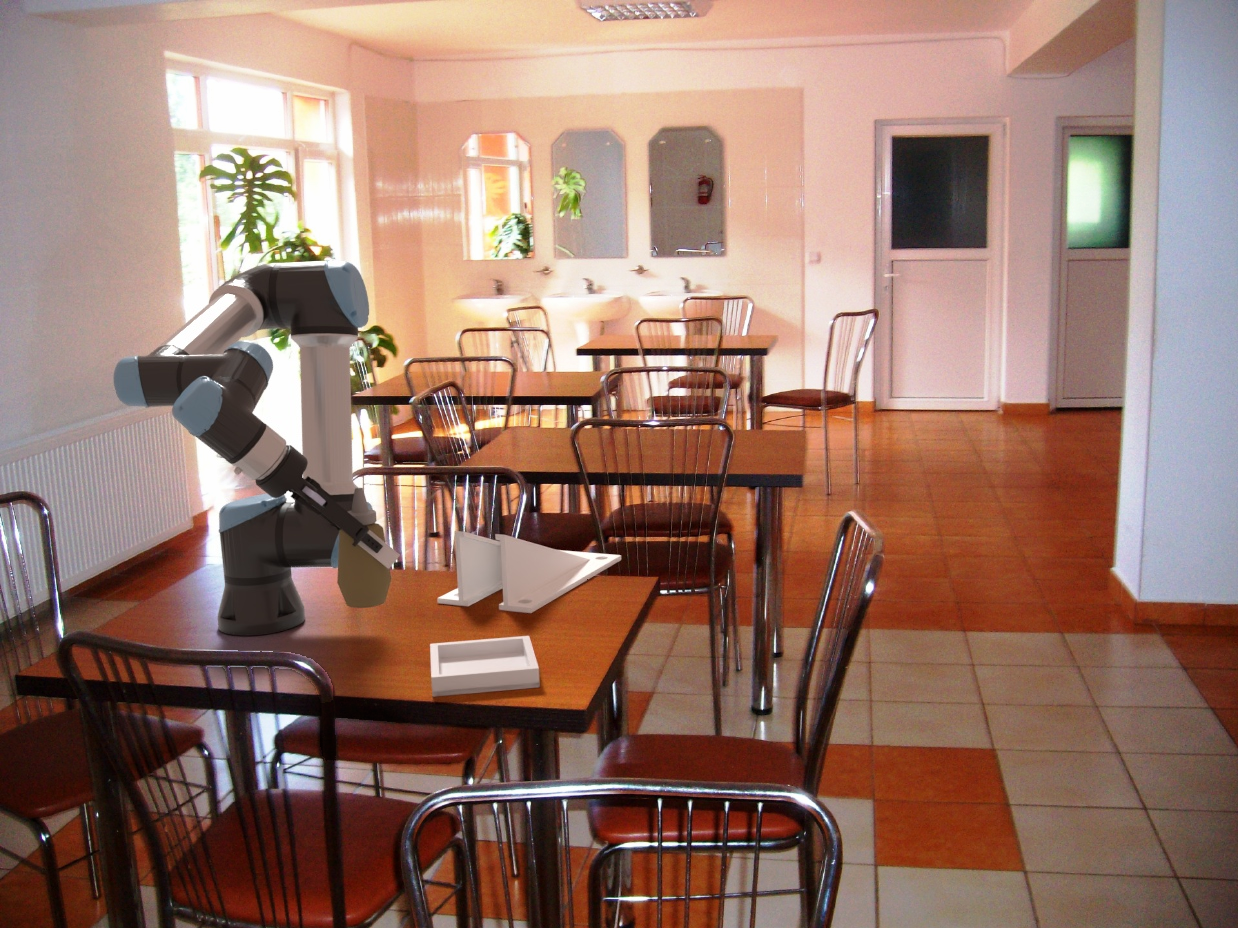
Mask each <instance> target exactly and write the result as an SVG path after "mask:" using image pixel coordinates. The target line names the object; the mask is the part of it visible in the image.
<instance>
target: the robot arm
mask: <svg viewBox="0 0 1238 928" xmlns="http://www.w3.org/2000/svg"><path fill="white" fill-rule="evenodd" d="M369 303H370V302H369V296H368V292H367V289H366V284H365V282H364V279H363V277H362V274H361V273H360V271H359V269H358V268H357V267H356V266H355V265H354V264H353V263H352V262H349V261H344V260H343V261H340V260H328V259H326V260H314V261H311V260H310V261H296V262H269V263H263V264H260V265H257V266H255V267H252V268H250V269H247V270H245V271H243V272H240V273H238V274H237V275H235V276H233V277H231V278H230V279H228V280H227V281H225V282H224V283H222V284H221V285H220V286H219V287H217V289H215V290H214V291H213V292H212V293H211V296H210V297H209V300H208V304H207V305H206V306H204V307H203V308H202V309H201V310H200V311H199V312H197V313H196V314H195V315H194V316H192V318H190V319H189V320H188V321H187V322H186V323H184V324H183V325H182V326H181V327H180V328H179V329H177V330H176V331H175V332H174V333H173V334H171V335H170V336H169V337H168V338H166V339H165V341H164V342H162V343H161V344H160V345H158V346H157V347H156V348H154V350H153V351H151V352H150V353H149V354H148V355H139V354H138V355H135V356H133V355H132V356H125V357H122V358H121V359H119V361H118V362H117V363H116V365H115V367H114V372H113V386H114V391H115V393H116V394H115V395H116V396H117V398H118V399H119V401H120V402H121V403H122V404H124V405H125V406H129V407H145V408H146V409H147V408H151V407H153V408H154V407H155V408H156V407H172V408H171V414H172V416H173V418H174V419H175V420H176V421H177V422H178V423H179V424H180V425H181V426H183V428H185V429H186V430H187V432H188V433H189V434H190V435H192V436H193V437H196V438H197V439H198V440H199V441H200V442H202V443H203V444H205V445H206V446H207V447H209V449H210V450H213V451H214V452H215V453H216V454H218V456H220V457H222V459H225V461H226V462H227V463H228V464H231V465H232V466H233V467H235V468H234V470H233V473H234V474H235V475H240V474H241V473H242V474H243V475H244V476H245V477H246V478H248V479H249V480H250V481H254V480H255V485H256V486H257V487H258V488H260V489H261V490H262V491H263V492H265V493H264V494H263V493H262V494H258V495H250V496H248V497H244V498H239V499H236V500H233V501H230V502H228V503H226V504H225V505H223V506H222V507H221V508H220V511H219V513H218V514H219V515H218V520H219V521H218V523H219V525H218V528H219V529H218V533H219V539H220V550H221V559H222V570H223V580H224V587H223V592H222V596H221V601H220V605H219V609H218V613H217V625H218V626H217V628H218V630H219V631H220V632H222V633H223V634H227V635H232V636H259V635H261V636H262V635H268V634H273V633H279V632H282V631H283V632H284V631H286V630H290V629H292V628H295V627H297V626H300V625H301V624H302V623H304V621H305V620H306V614H305V605H304V603H303V600H302V598H301V596H300V594H299V592H298V590H297V587H296V585H295V581H294V580H293V577H292V575H293V574H292V568H332V569H338V554H339V531H340V530H342V531H344V532H345V533H346V534H347V535H349V536H350V537H351V538H353V540H354V543H353V544H352V545H353V546H354V547H356V545H357V544H358V545H359V546H361V547H362V548H363V549H364V550H366V551H367V552H368V553H369V554H371V555H372V556H373V557H374V558H375V559H377V560H378V561H379V562H380V563H382V564H383V565H384V566H385V567H387V568H388V569H389V568H391V567H392V566H393V565H394V563H395V562H396V561H397V560H398V559H399V557H400V556H401V554H400V553H398V552H397V550H395V549H393V548H392V547H391V546H390V545H389V544H388V543H386V541H385V542H384V541H383V540H381V539H380V538H379V537H378V536H376V535H375V534H374V533H373V532H372V531H370V530H369V528H368V527H367V526H364V525H363V524H362V523H361V522H359V521H358V520H357V519H356V518H354V517H353V516H352V515H351V514H350V513H348V511H351V510H352V504H353V497H354V491H355V488H359V487H358V486H357V485H356V484H355V482H354V481H353V479H354V478H353V474H354V473H353V441H352V440H353V439H352V437H353V432H352V395H351V394H352V393H351V391H352V390H351V389H352V387H351V353H350V352H351V351H350V349H351V346H352V345H354V343H355V342H356V341H357V340H358V339H359V328H361V329H362V328H363V327H366V325H367V324H368V322H369V315H370V304H369ZM273 329H274V330H277V329H278V330H279V329H281V330H282V329H283V330H284V329H285V330H287V329H290V339H291V340H292V341H293V342H294V343H296V345H298V348H299V357H300V359H299V362H300V363H299V364H300V365H299V368H300V397H301V399H300V401H301V402H300V403H301V404H300V408H301V441H302V445H301V446H302V450H301V451H302V453H301V452H300V451H298V450H297V449H296V448H295V447H293V445H290V444H289V445H288V444H287V441H286V439H285V438H283V437H282V436H281V435H280V434H279V433H277V432H276V431H275V430H274V429H273V428H271V427H270V426H269V425H267V424H266V423H265V422H263V421H262V420H261V419H260V418H259V417H258V416H256V415H255V414H254V413H253V412H254V411H255V409H256V407H257V405H258V403H259V401H260V400H261V398H262V396H263V394H264V392H265V391H266V389H267V387H268V386H269V382H270V378H271V376H272V374H273V369H274V361H273V359H272V357H271V355H270V353H269V351H267V350H266V348H265V347H263V346H262V345H260V344H258V343H256V342H254V341H252V340H251V341H250V340H243V339H242V340H241V338H247V337H250V336H252V335H254V334H255V333H256V332H258V331H262V330H263V331H264V330H273ZM287 492H290V493H292V494H291V495H290V497H291V498H292V499H293V500H294V502H287V501H288V500H287V497H286V494H287ZM367 505H368V508H369V509H371V510H374V509H373V506H372V503H370V502H369V501H367Z"/></svg>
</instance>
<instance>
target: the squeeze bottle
mask: <svg viewBox="0 0 1238 928" xmlns="http://www.w3.org/2000/svg"><path fill="white" fill-rule="evenodd" d="M367 502H368V501H367V497H366V494H365V492H364V488H363V487H358V488H355V491H354V497H353V504H352V510H351V511H348V513H350V514H351V515H352V516H353V517H354V518H356V519H357V520H358V521H359V522H361V523H362V524H363V525H364V526H367V527H368V528H369V530H370V531H372V532H373V533H374V534H375V535H376V536H378V537H379V538H380V539H381V540H383V541H384V542H385V543H386V538H385V531H384V527H383V526H382V525H380V524H379V523H377V511H376V510H375V509H373V510H371V509H369V508H368V505H367ZM353 543H354V540H353V538H351V537H350V536H349V535H347V534H346V533H345V532H344V531H342V530H340V531H339V554H338V568H337V585H338V588H339V589H340V592H341V595H342V598H343V600H344V602H345V605H346V606H347V607H350V608H355V609H366V608H367V609H368V608H373V607H378V606H380V605H384V604H385V602H386V600H387V595H388V593H389V591H390V590H389V589H390V585H391V582H392V575H391V574H392V573H391V569H390V568H391V567H390V568H389V569H388V568H387V567H385V566H384V565H383V564H382V563H380V562H379V561H378V560H377V559H375V558H374V557H373V556H372V555H371V554H369V553H368V552H367V551H366V550H364V549H363V548H362V547H361V546H359V545H358V544H357V545H356V547H354V546H353V545H352V544H353Z"/></svg>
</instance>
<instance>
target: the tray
mask: <svg viewBox="0 0 1238 928" xmlns="http://www.w3.org/2000/svg"><path fill="white" fill-rule="evenodd" d="M429 647H430V648H429V650H430V651H429V652H430V654H429V655H430V674H431V675H430V677H431V678H430V679H431V695H432V697H433V698H434V697H435V698H436V697H444V696H456V695H467V694H478V693H489V692H500V691H511V690H521V689H522V690H525V689H534V688H535V689H536V688H540V686H541V685H540V684H541V683H540V668H539V663H538V660H537V658H536V655H535V651H534V648H533V644H532V641H531V638H530V635H522V636H509V637H499V638H498V637H497V638H485V639H484V638H483V639H474V640H473V639H471V640H470V639H469V640H460V641H449V642H448V641H447V642H436V643H429Z"/></svg>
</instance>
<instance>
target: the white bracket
mask: <svg viewBox="0 0 1238 928" xmlns="http://www.w3.org/2000/svg"><path fill="white" fill-rule="evenodd" d="M494 536H495V539H491V538H488V537H486V536H485V537H484V536H481V535H477V534H474V533H470V532H466V531H458V530H455V531H454V542H455V543H454V544H455V559H456V562H455V563H456V577H457V579H456V580H457V588H455V589H453V590H451V591H449V592H447V593H445V594H443V595H441V596H439V597H437V598H436V599H437V604H442V605H443V604H444V605H450V606H452V605H453V606H461V607H470V606H472V605H473V604H476V603H477V602H479V601H481V600H483V599H485V598H487V597H489V596H491V595H492V594H495V593H497V592H499V591H500V590H502V600H503V601H502V602H501V603H499V604H498V610H499V611H506V612H507V611H508V612H514V613H515V612H516V613H524V614H527V613H528V614H532V613H534V612H535V611H537V610H538V609H540V608H542V607H544V606H546V605H547V604H549V603H551V602H553V601H554V600H555V599H558V598H559V597H561V596H562V595H564V594H566V593H567V592H570V591H571V590H572V589H574V588H576V587H579V585H581V584H583V583H585V582H587V581H588V580H590V579H591V578H593V577H594V576H597V575H598V574H600V573H601V572H603V571H605V570H607V569H608V568H610V567H612V566H613V565H615V564H617V563H618V562H620V561H622V555H620V554H609V553H599V552H587V551H586V552H585V551H576V550H575V551H572V550H561V549H555V548H551V547H548V546H544V545H541V544H538V543H534V542H530V541H528V540H527V541H526V540H524V539H520V538H517V537H514V536H510V535H507V534H502V533H501V534H498V533H495V534H494ZM587 579H588V580H587Z"/></svg>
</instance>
